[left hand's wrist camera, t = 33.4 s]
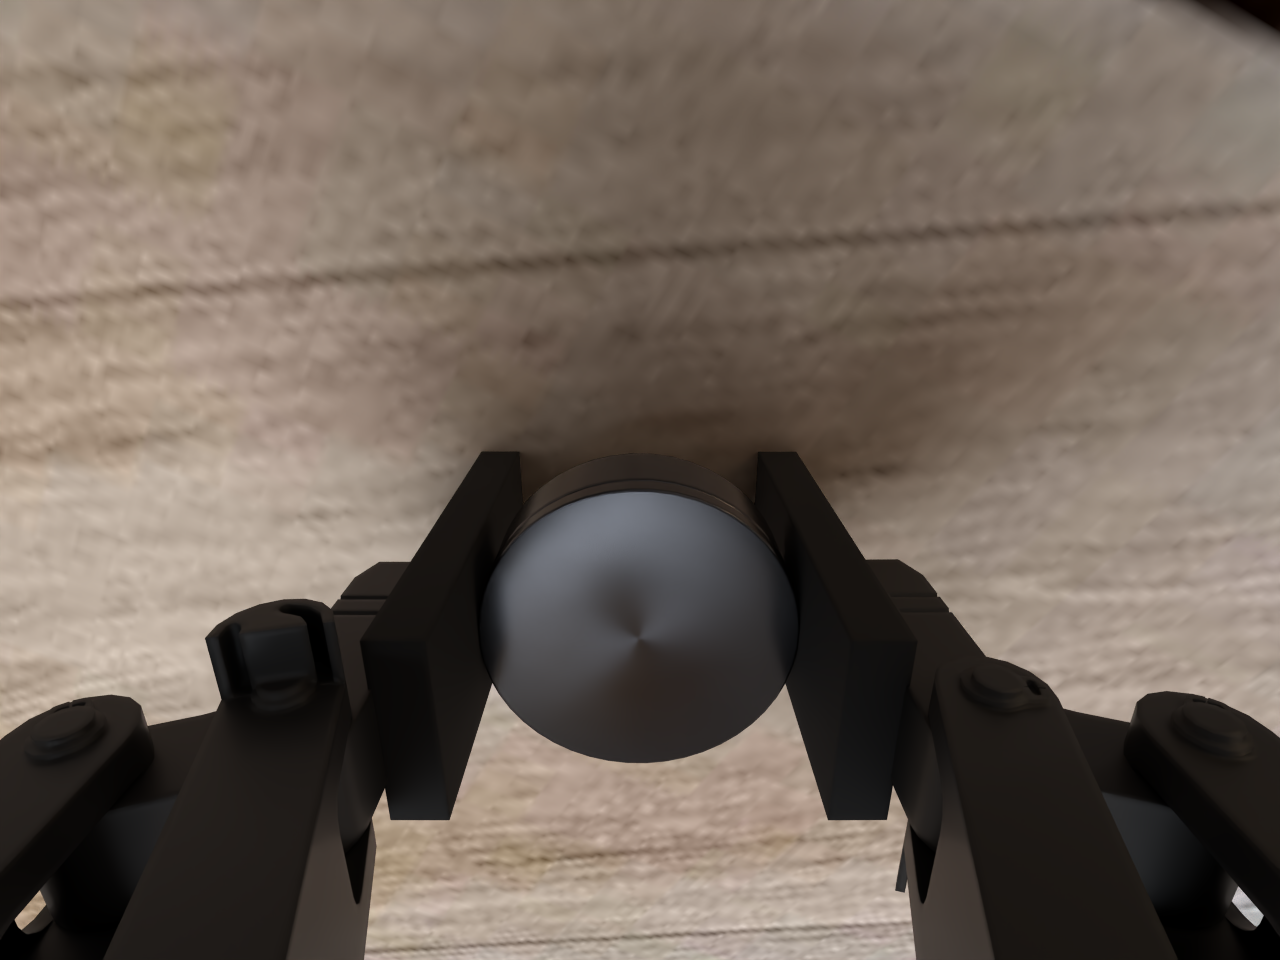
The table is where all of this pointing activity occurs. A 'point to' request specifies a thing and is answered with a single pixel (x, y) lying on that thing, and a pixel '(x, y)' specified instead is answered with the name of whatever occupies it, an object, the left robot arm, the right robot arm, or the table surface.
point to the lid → (638, 610)
